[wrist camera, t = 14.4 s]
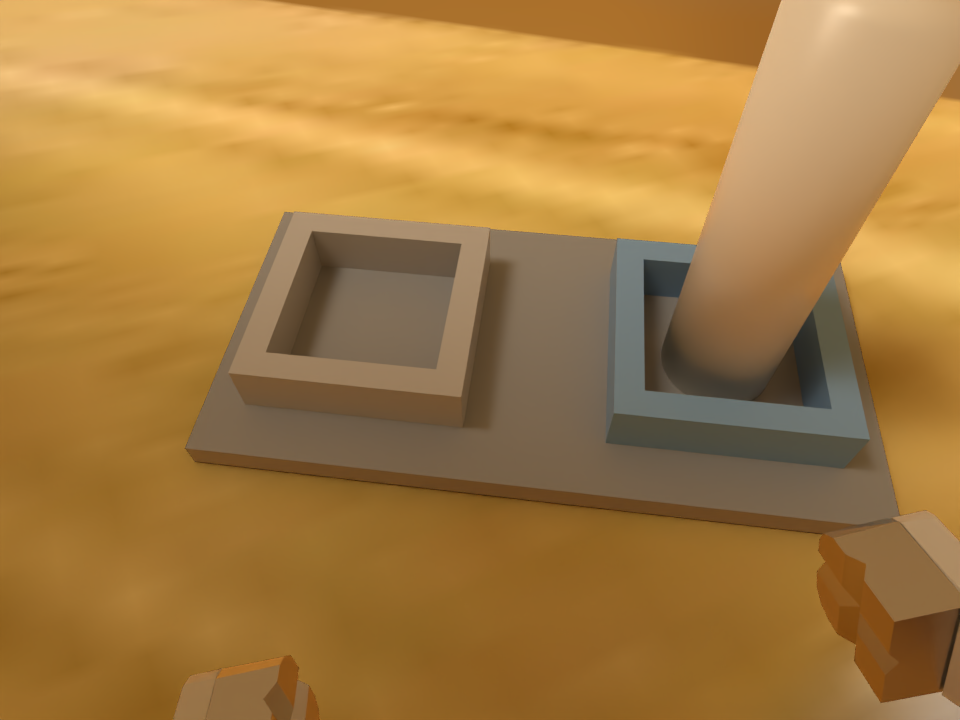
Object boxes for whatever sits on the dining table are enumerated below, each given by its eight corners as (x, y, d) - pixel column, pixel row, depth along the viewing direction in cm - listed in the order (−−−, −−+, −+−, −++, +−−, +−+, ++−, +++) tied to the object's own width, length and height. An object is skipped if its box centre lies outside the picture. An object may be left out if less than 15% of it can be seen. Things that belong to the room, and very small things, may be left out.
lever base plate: (194, 461, 25) (163, 418, 23) (289, 228, 32) (273, 176, 29) (888, 541, 23) (935, 504, 21) (829, 274, 30) (860, 222, 27)
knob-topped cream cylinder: (662, 400, 25) (883, -170, 11) (659, 315, 27) (840, -248, 13) (775, 412, 25) (1152, -160, 11) (763, 324, 27) (1061, -243, 13)
